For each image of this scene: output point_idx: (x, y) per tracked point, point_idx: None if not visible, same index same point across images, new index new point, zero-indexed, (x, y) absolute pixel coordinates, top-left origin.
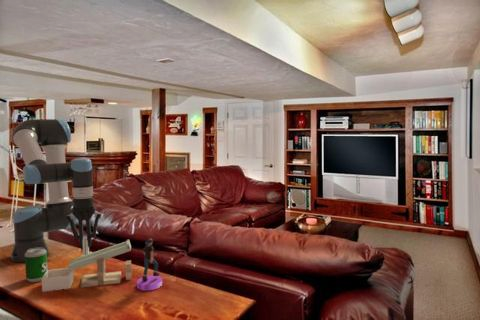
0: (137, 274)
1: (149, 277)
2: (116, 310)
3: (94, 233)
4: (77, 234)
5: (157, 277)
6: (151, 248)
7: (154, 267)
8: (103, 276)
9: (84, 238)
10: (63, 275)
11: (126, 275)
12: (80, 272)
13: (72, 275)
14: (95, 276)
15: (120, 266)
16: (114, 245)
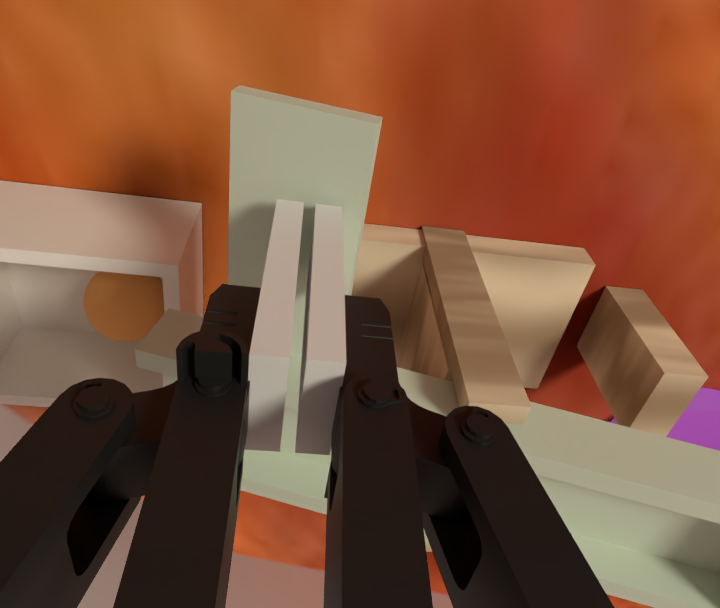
0: (689, 285)
1: (702, 435)
2: (438, 570)
3: (475, 552)
4: (105, 453)
5: None
6: None
7: None
8: None
9: (273, 379)
10: (123, 334)
11: (593, 369)
12: (239, 29)
13: (191, 269)
14: (382, 291)
15: (658, 33)
16: (652, 494)
